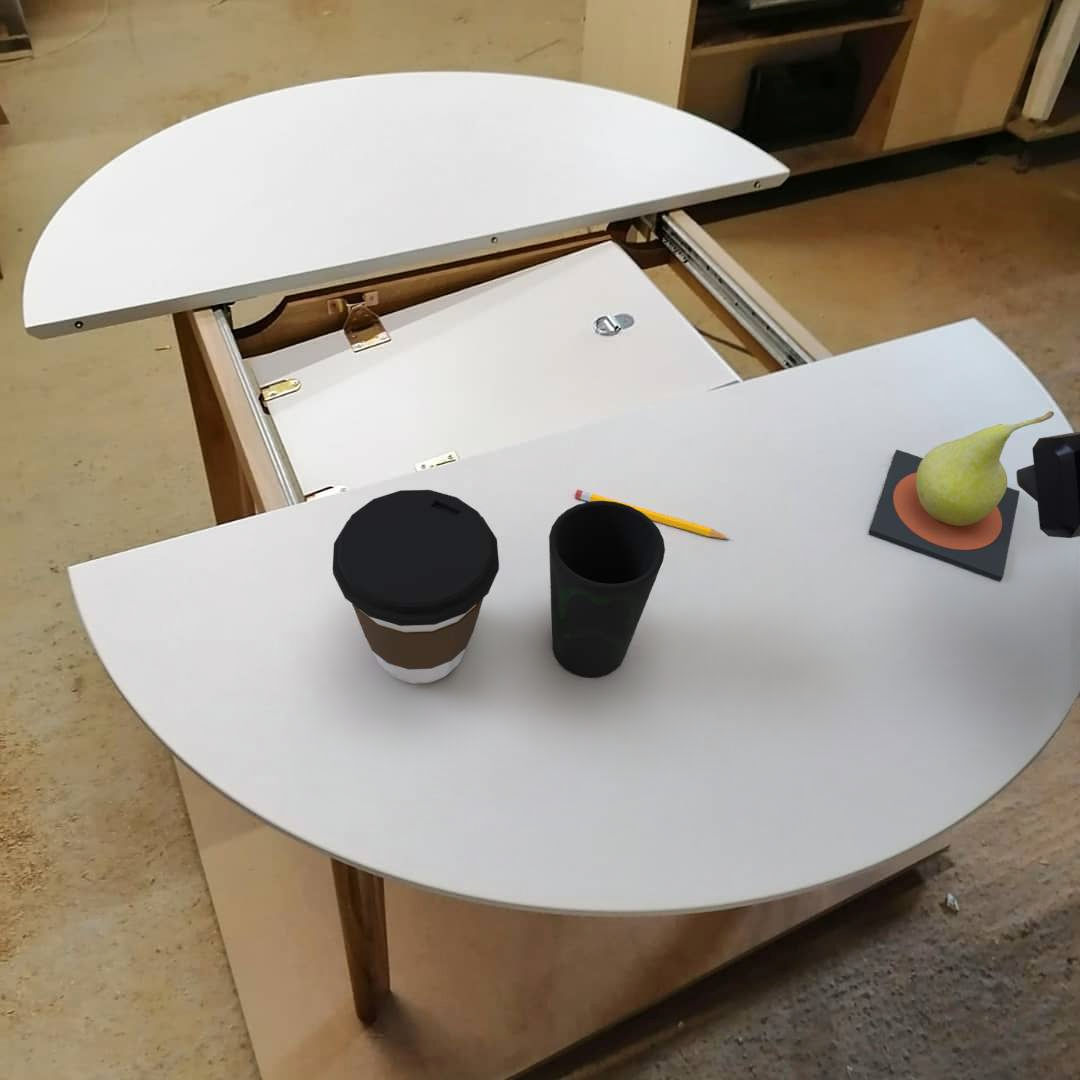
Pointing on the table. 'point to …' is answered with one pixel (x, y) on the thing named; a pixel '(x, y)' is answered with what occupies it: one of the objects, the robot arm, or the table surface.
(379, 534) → the coffee cup
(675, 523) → the pencil
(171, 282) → the table surface
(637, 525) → the cup
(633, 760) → the table surface
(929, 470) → the fruit
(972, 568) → the mat
